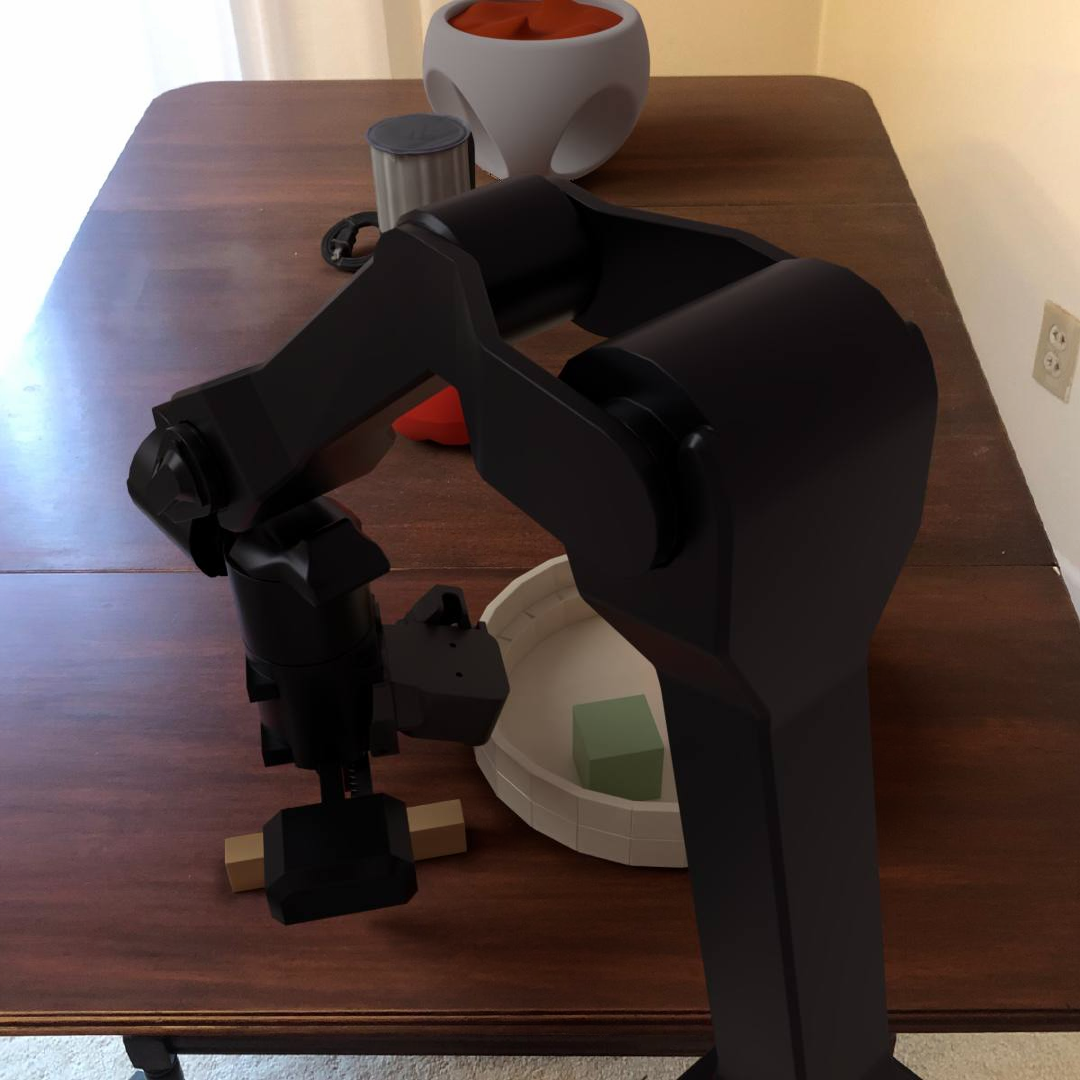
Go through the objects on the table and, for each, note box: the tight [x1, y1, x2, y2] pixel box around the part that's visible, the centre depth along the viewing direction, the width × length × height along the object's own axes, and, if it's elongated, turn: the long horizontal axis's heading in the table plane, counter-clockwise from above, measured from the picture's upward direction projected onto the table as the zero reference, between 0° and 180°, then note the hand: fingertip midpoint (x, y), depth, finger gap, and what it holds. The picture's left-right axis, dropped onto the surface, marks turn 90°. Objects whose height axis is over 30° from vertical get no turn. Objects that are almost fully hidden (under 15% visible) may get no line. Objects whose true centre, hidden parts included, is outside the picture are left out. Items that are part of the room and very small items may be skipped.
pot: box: [421, 0, 651, 182], centre depth 131 cm, size 24×24×18 cm
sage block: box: [573, 694, 664, 801], centre depth 65 cm, size 4×4×4 cm
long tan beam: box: [224, 798, 468, 893], centre depth 63 cm, size 2×12×2 cm, turn 102°
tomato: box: [392, 385, 470, 446], centre depth 94 cm, size 11×11×8 cm
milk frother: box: [320, 112, 476, 272], centre depth 112 cm, size 14×16×15 cm
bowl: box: [472, 553, 688, 869], centre depth 69 cm, size 21×21×5 cm
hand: (348, 847), depth 63 cm, fingers open, 7 cm apart
